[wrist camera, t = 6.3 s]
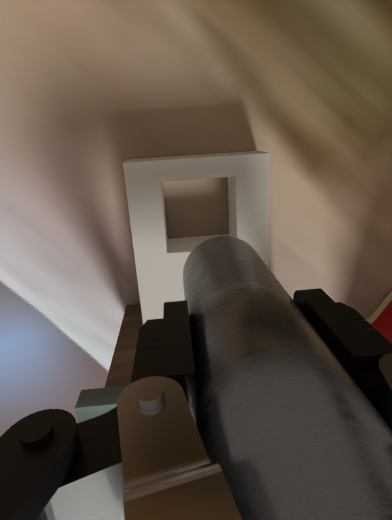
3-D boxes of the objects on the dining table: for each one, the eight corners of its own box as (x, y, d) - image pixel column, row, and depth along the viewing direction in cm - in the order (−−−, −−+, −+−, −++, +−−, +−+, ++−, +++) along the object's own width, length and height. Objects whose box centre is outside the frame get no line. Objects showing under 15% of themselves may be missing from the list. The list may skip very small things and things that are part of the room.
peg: (185, 314, 15) (231, 820, 4) (179, 239, 14) (218, 650, 3) (262, 307, 15) (519, 776, 4) (262, 232, 14) (617, 596, 3)
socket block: (129, 159, 27) (122, 162, 23) (256, 150, 27) (270, 152, 24) (147, 308, 31) (144, 332, 28) (257, 299, 32) (268, 321, 28)
